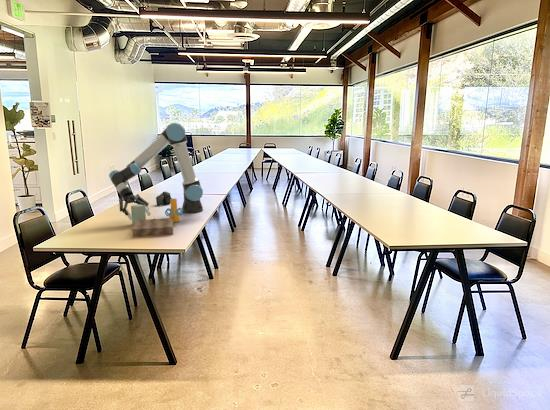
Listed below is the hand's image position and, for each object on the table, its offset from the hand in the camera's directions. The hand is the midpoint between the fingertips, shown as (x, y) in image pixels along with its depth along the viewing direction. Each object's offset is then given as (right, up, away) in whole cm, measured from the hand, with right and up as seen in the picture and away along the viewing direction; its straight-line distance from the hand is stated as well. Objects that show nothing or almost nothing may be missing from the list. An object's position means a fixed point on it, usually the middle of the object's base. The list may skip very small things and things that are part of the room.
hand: (140, 216), depth 243 cm
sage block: (-2, -5, +2) cm, 5 cm away
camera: (-3, +8, +64) cm, 65 cm away
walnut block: (+13, -8, -13) cm, 20 cm away
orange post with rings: (+19, -4, +9) cm, 22 cm away
